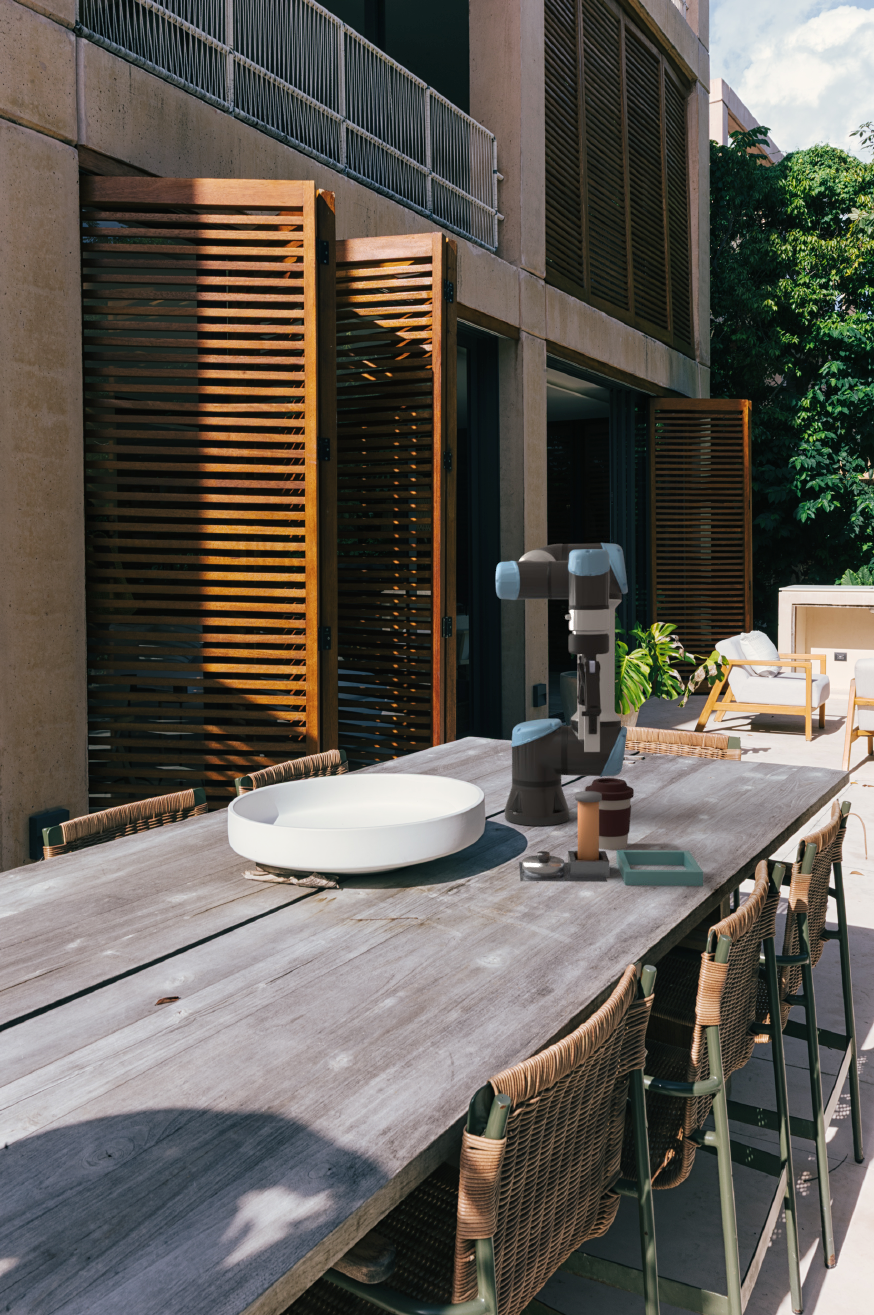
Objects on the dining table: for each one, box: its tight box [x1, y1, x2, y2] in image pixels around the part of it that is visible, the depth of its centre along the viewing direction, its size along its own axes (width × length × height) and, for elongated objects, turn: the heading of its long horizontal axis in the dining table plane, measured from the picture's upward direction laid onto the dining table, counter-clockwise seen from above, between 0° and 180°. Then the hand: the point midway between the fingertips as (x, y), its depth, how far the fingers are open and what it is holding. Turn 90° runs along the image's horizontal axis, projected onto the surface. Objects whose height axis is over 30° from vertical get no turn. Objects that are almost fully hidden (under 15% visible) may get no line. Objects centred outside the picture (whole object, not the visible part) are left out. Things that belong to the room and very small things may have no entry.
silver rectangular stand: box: [518, 850, 610, 883], centre depth 194 cm, size 12×17×5 cm
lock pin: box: [574, 791, 602, 860], centre depth 193 cm, size 5×5×15 cm
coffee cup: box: [584, 777, 635, 851], centre depth 212 cm, size 10×10×15 cm
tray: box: [615, 849, 704, 887], centre depth 192 cm, size 14×14×4 cm
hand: (588, 745), depth 191 cm, fingers open, 13 cm apart
